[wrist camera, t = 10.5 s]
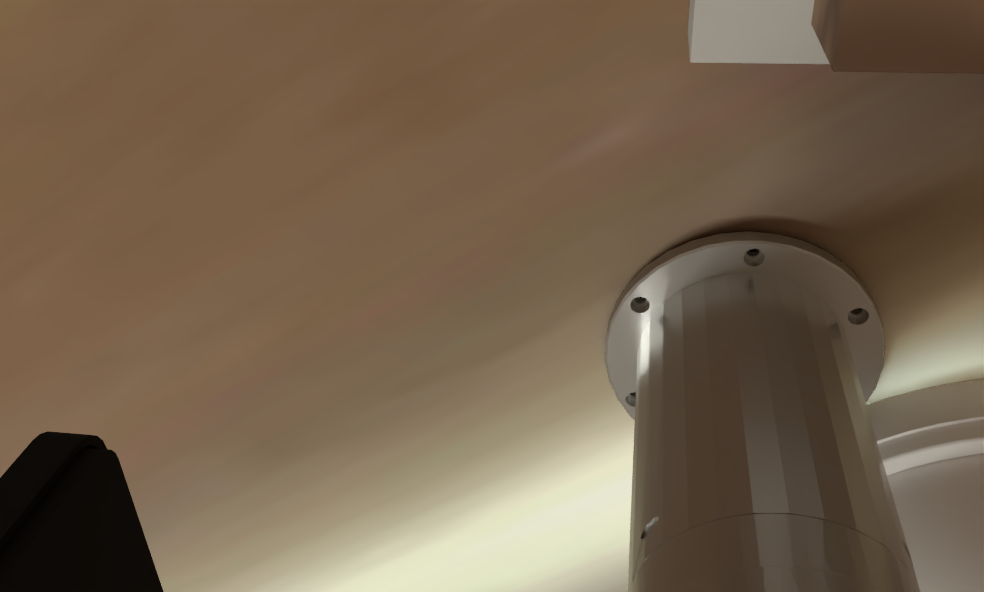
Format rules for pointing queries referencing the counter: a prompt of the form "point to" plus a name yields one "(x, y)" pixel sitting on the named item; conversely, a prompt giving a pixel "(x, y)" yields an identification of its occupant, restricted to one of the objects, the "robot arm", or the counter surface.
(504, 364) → the counter surface
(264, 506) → the counter surface
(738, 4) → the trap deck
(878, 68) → the walnut bar
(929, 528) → the dome cover
